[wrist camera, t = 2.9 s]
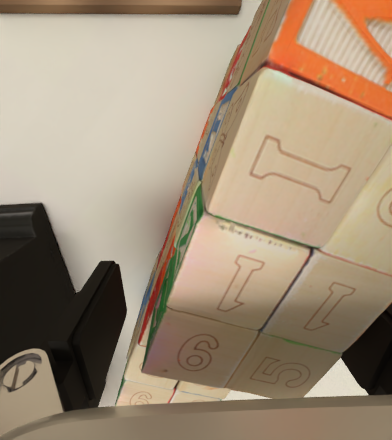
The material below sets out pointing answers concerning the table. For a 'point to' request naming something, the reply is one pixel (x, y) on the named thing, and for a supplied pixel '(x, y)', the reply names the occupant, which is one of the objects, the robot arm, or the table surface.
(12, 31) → the table surface
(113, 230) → the table surface
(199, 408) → the robot arm
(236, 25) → the table surface
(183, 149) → the table surface
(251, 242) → the stack of blocks
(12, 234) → the bookend
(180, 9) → the slot board
